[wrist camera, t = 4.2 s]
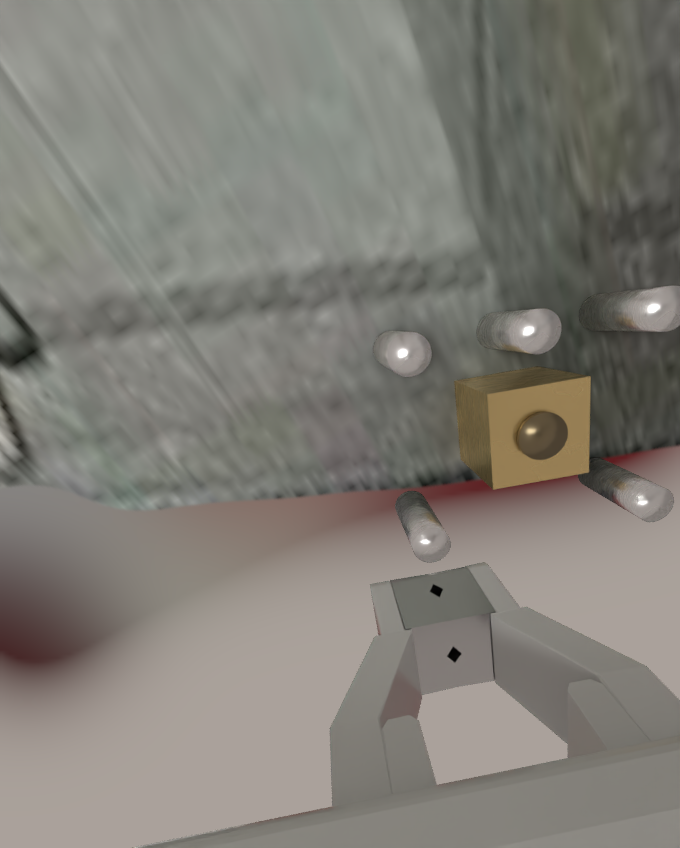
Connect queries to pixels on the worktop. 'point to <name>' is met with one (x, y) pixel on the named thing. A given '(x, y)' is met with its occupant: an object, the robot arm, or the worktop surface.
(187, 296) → the worktop surface
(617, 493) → the spacer posts
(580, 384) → the cube with brass knob
